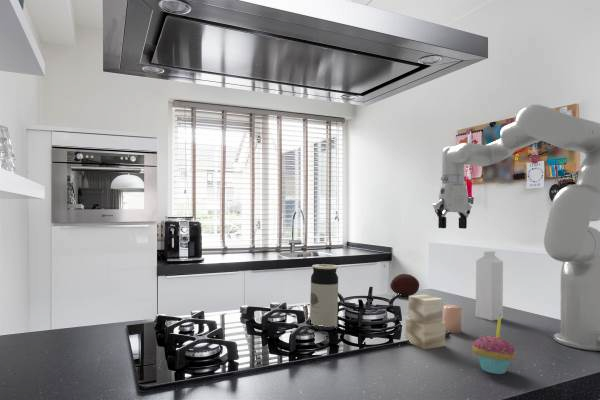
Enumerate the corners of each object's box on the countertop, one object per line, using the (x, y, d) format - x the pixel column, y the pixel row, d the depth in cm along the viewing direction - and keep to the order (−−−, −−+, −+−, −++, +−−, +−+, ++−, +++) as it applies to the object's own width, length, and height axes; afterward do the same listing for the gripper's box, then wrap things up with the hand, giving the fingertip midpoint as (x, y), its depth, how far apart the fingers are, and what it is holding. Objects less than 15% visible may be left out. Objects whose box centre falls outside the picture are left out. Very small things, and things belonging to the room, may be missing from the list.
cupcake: (489, 360, 93) (490, 308, 94) (524, 374, 86) (525, 317, 86) (463, 366, 89) (464, 311, 90) (498, 380, 82) (498, 321, 82)
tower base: (444, 346, 104) (445, 322, 104) (424, 349, 101) (424, 325, 101) (425, 338, 110) (425, 316, 110) (405, 341, 107) (405, 318, 107)
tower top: (442, 322, 104) (442, 298, 104) (424, 324, 101) (424, 300, 102) (425, 316, 109) (426, 294, 110) (408, 318, 107) (408, 296, 107)
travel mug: (331, 323, 122) (332, 263, 123) (341, 330, 115) (342, 267, 115) (306, 324, 120) (307, 264, 121) (314, 332, 112) (316, 267, 113)
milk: (475, 316, 135) (475, 250, 136) (486, 314, 138) (486, 250, 139) (492, 321, 130) (492, 252, 131) (503, 318, 133) (503, 251, 134)
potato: (422, 298, 163) (422, 275, 163) (392, 298, 163) (393, 275, 163) (415, 294, 172) (415, 272, 172) (387, 293, 171) (387, 271, 172)
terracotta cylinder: (465, 332, 116) (465, 307, 117) (452, 334, 114) (452, 309, 114) (451, 327, 121) (452, 304, 121) (439, 329, 119) (439, 305, 119)
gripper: (442, 178, 139) (441, 228, 138) (478, 181, 146) (478, 228, 145) (427, 180, 146) (426, 227, 145) (462, 182, 153) (462, 228, 152)
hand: (452, 228), depth 145 cm, fingers open, 9 cm apart
